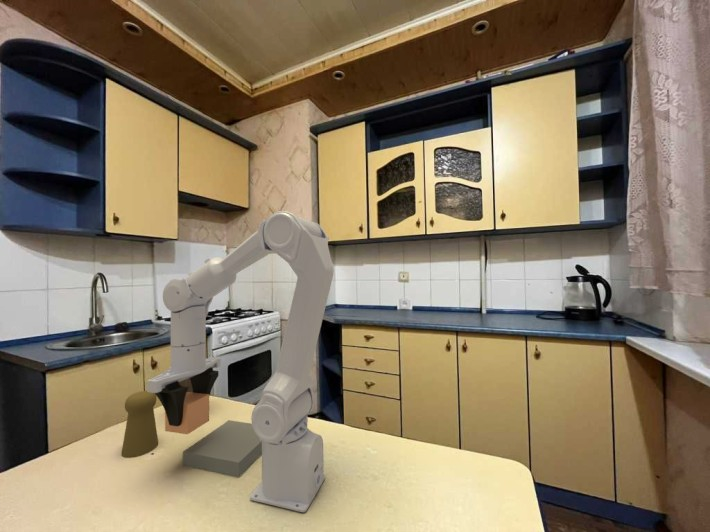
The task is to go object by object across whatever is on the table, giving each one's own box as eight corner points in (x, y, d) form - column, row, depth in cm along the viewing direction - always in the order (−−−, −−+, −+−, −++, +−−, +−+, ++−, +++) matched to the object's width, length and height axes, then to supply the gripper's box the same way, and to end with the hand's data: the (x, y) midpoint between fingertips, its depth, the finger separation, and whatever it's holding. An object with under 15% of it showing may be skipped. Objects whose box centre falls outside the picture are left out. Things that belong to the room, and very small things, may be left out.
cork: (138, 459, 55) (139, 400, 55) (112, 455, 56) (113, 398, 56) (165, 441, 61) (166, 388, 61) (141, 438, 62) (142, 386, 62)
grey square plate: (276, 441, 61) (276, 427, 61) (238, 480, 49) (238, 462, 49) (228, 433, 64) (228, 420, 64) (182, 468, 53) (182, 451, 53)
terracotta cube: (209, 420, 55) (209, 394, 56) (187, 434, 51) (187, 405, 51) (188, 417, 57) (188, 391, 57) (165, 430, 52) (165, 402, 52)
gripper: (201, 335, 62) (201, 399, 62) (133, 352, 48) (132, 435, 48) (229, 336, 60) (229, 402, 60) (166, 354, 46) (166, 440, 46)
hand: (188, 417), depth 54 cm, fingers closed on terracotta cube, 5 cm apart
